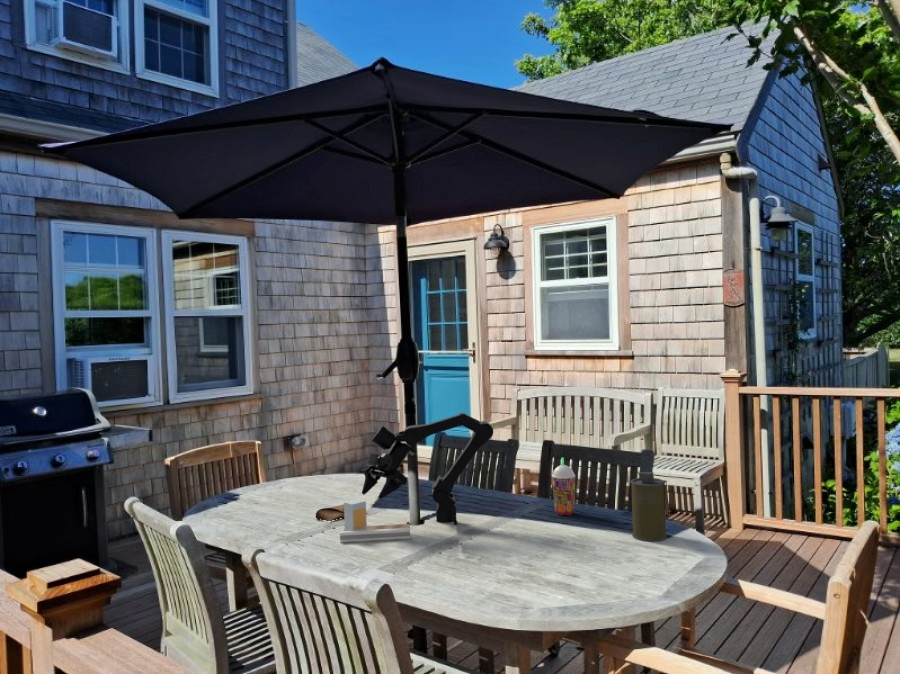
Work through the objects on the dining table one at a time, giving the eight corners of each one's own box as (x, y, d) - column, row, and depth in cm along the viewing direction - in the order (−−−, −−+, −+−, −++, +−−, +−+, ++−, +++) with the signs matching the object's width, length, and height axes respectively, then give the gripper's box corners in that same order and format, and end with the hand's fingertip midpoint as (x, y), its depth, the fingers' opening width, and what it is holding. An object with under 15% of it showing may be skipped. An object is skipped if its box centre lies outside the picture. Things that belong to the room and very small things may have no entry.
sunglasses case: (328, 523, 257) (322, 505, 259) (319, 530, 261) (313, 512, 264) (369, 512, 269) (363, 496, 271) (360, 519, 273) (354, 503, 276)
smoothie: (550, 515, 255) (548, 459, 255) (556, 509, 263) (554, 454, 263) (573, 517, 252) (571, 460, 252) (578, 511, 260) (576, 455, 260)
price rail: (409, 537, 233) (409, 527, 232) (409, 538, 231) (409, 529, 231) (340, 540, 231) (340, 531, 231) (340, 542, 230) (339, 533, 229)
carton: (358, 532, 240) (357, 499, 240) (367, 534, 237) (366, 501, 237) (345, 536, 236) (343, 502, 236) (353, 538, 233) (352, 504, 233)
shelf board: (409, 526, 248) (409, 523, 248) (410, 542, 230) (409, 539, 230) (345, 530, 247) (344, 527, 247) (340, 546, 229) (340, 543, 229)
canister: (630, 540, 224) (628, 475, 224) (634, 530, 234) (632, 468, 233) (666, 542, 220) (664, 477, 220) (669, 533, 230) (667, 470, 229)
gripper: (365, 441, 251) (339, 478, 244) (399, 446, 238) (373, 485, 230) (384, 460, 257) (359, 497, 250) (418, 466, 243) (394, 505, 236)
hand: (371, 496), depth 241 cm, fingers open, 9 cm apart
